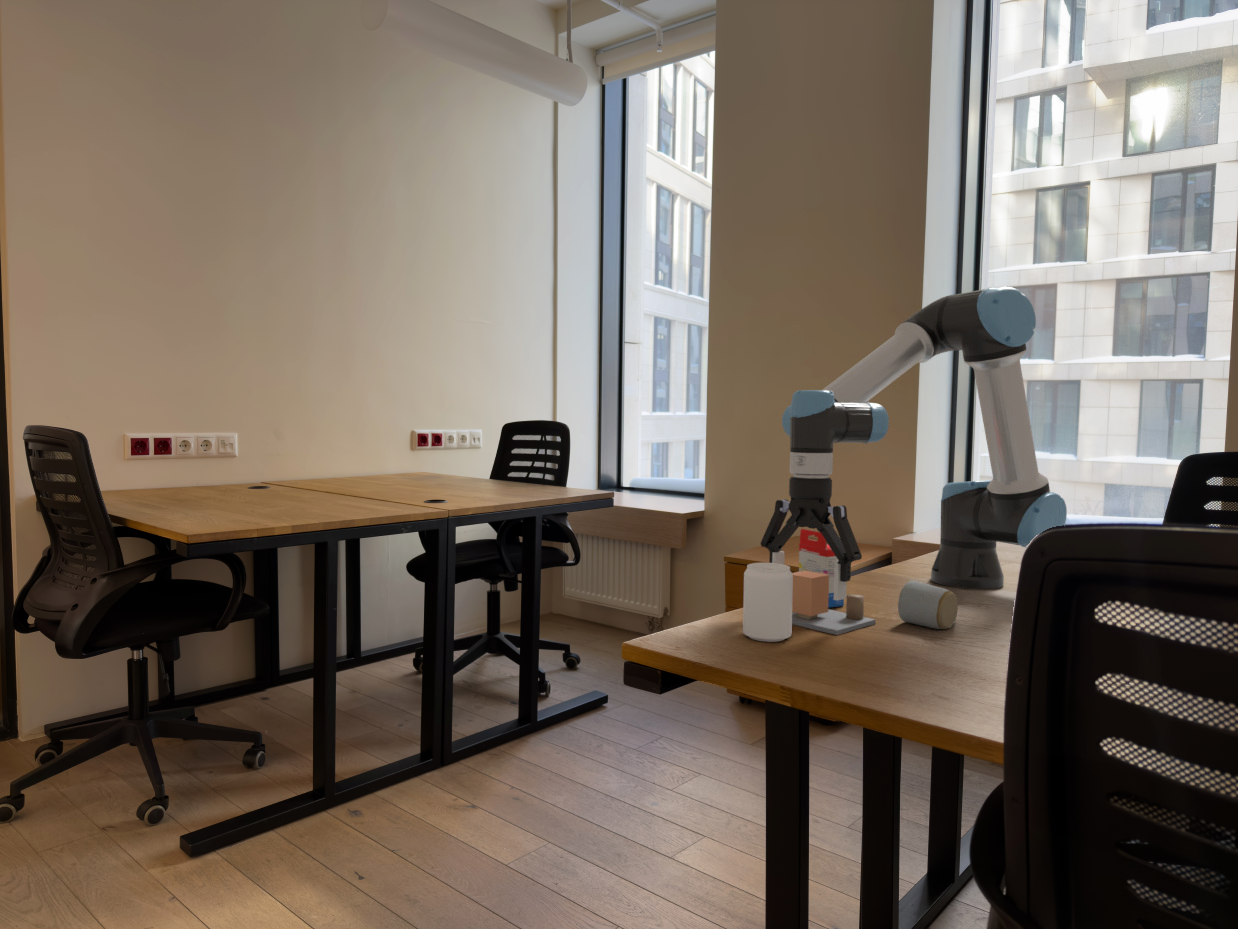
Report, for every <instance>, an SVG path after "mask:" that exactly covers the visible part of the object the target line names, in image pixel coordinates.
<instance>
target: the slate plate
mask: <svg viewBox="0 0 1238 929" xmlns="http://www.w3.org/2000/svg"><path fill="white" fill-rule="evenodd" d="M864 602H865V597H864V595H861V594H852V593H851V594H846V602H845V603H846V607H845V610H846V611H845V612H844V611H838V610H834V609H831V608H828V612H826V613H822V614H818V617H815V618H812V619H806V618H802V617H797V613H795V612H792V626H793V625H794V626H798V627H801V628H802V627H803V628H806V629H811V630H814V631H818V632H823V633H827V634H831V635H835V636H838V635H843V634H846V633H848V632H852V631H855V630H860V629H863V628H865V627H868V626H869V627H870V626H874V625H876V619H874V618H870V617H865V616H864V611H865V610H864V604H865V603H864Z"/></svg>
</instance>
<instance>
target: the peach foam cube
mask: <svg viewBox="0 0 1238 929" xmlns="http://www.w3.org/2000/svg"><path fill="white" fill-rule="evenodd" d="M791 573H792V574H793V594H792V612H795V613H799V614H803V615H808V616H814V615H818V614H822V613H826V612H828V609H829V608H828V599H829V575H827V574H822V573H816V572H811V571H800V572H799V571H796V572H791Z"/></svg>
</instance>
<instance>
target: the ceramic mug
mask: <svg viewBox="0 0 1238 929" xmlns="http://www.w3.org/2000/svg"><path fill="white" fill-rule="evenodd" d="M897 608H898V615H899V618H900V620H902V622H905V623H908V624H914V625H916V626H917V625H918V626H920V627H921V626H923V627H927V628H931V629H935V630H947V629H949V628H950V627H951V626H953V624H954V623H955V622H956V620H957V616H958V611H959V603H958V598H957V596H956V594H955V593H954V592H953V591H951V590H949V589H947V588H943V587H940V586H935V585H932V584H928V583H925V582H920V581H917V580H912V579H911V580H908V581H907V582H906V583H905V584H904V585H903V586H902V589H901V591H900V593H899V597H898V602H897Z"/></svg>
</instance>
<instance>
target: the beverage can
mask: <svg viewBox="0 0 1238 929" xmlns="http://www.w3.org/2000/svg"><path fill="white" fill-rule="evenodd" d="M746 567H747V568H746V569H745V571H744V572H743V605H742V606H743V610H742V611H743V612H742V614H743V616H742V632H743V635H745V636H747V637H748V638H750V639H751V640H755V641H759V642H770V643H773V642H776V643H777V642H781V641H785V639H788V638H790V637H792V632H793V630H792V627H793V624H792V594H793V574H792V573H793V572H792V571H791V566H790V565H787V564H785V563H784V564H778V563H769V562H753V563H748V564H747V565H746Z"/></svg>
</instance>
